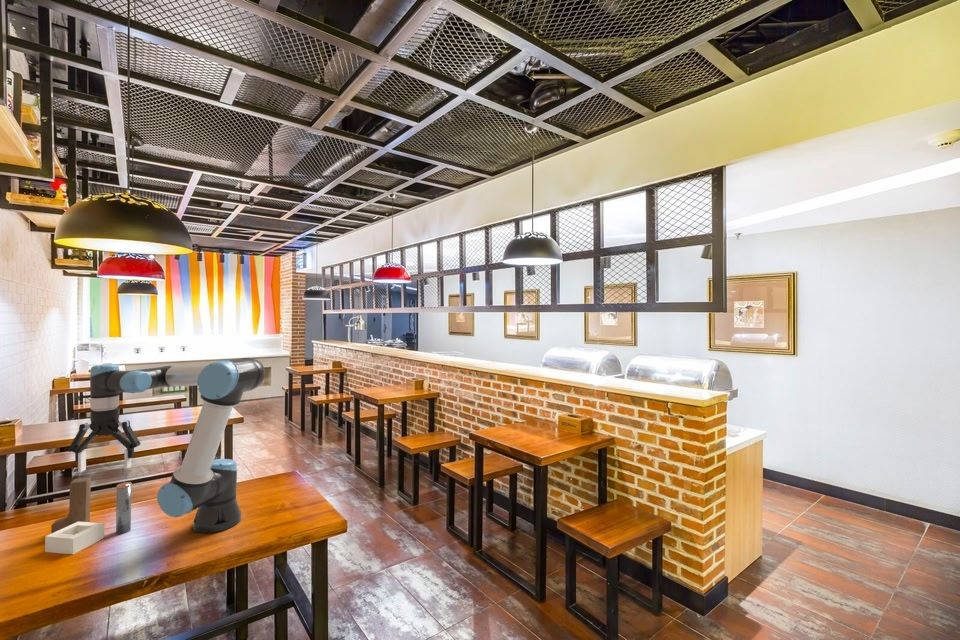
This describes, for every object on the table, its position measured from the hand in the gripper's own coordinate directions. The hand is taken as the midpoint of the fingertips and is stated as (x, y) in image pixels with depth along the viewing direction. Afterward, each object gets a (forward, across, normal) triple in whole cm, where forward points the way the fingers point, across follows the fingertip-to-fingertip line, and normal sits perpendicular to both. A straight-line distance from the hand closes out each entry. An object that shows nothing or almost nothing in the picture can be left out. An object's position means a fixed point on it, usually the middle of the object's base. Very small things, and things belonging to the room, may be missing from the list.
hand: (105, 469), depth 148 cm
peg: (+22, -6, +1) cm, 23 cm away
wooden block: (+22, +11, -2) cm, 25 cm away
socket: (+22, +4, +8) cm, 24 cm away
